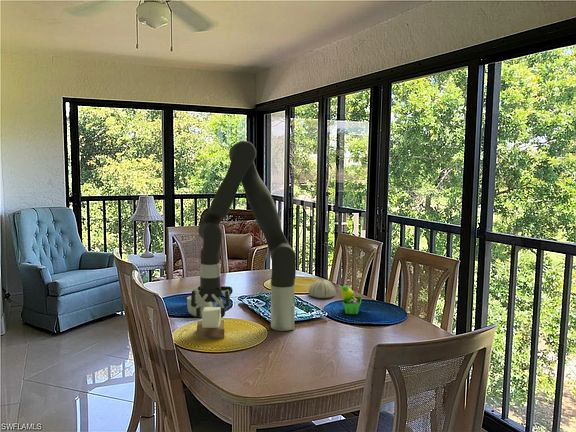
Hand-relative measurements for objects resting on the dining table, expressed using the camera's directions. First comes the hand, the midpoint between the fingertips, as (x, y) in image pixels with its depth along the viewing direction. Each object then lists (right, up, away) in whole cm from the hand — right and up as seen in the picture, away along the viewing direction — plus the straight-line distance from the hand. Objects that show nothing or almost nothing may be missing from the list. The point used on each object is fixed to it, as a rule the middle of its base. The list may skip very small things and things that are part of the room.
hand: (210, 317), depth 177 cm
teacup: (-7, -4, +25) cm, 26 cm away
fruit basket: (+57, -4, +31) cm, 65 cm away
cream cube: (0, -3, 0) cm, 3 cm away
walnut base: (0, -7, +1) cm, 7 cm away
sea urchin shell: (+46, -2, +55) cm, 71 cm away
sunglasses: (-7, -2, +48) cm, 49 cm away
